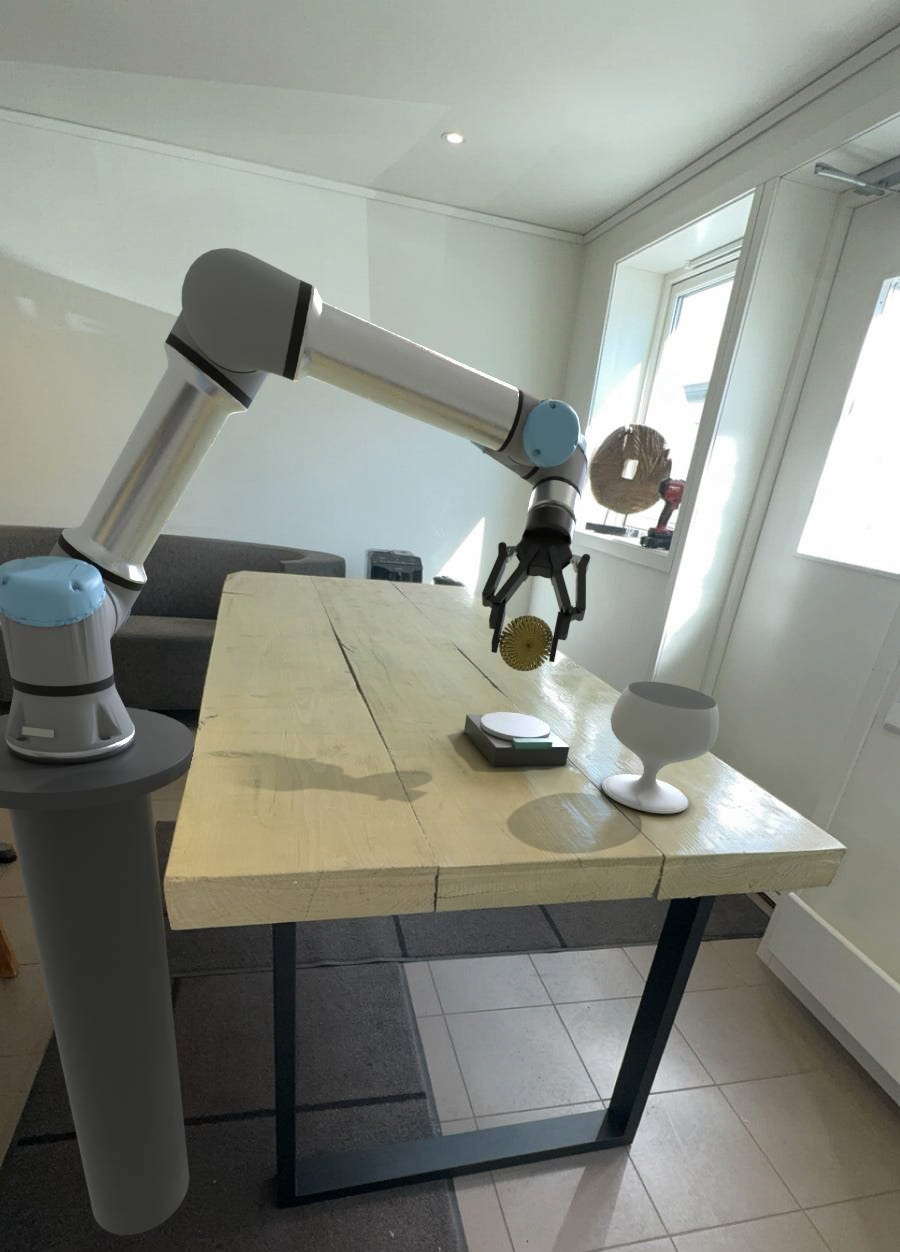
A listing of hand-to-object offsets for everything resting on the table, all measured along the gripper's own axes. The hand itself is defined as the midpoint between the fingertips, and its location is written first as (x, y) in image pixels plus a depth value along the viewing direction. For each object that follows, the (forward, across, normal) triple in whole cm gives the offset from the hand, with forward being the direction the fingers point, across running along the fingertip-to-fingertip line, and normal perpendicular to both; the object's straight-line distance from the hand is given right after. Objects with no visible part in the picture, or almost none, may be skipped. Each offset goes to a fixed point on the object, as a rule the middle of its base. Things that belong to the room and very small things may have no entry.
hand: (523, 651), depth 92 cm
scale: (+7, 0, -16) cm, 18 cm away
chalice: (+14, -20, -9) cm, 27 cm away
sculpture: (0, 0, -5) cm, 5 cm away
